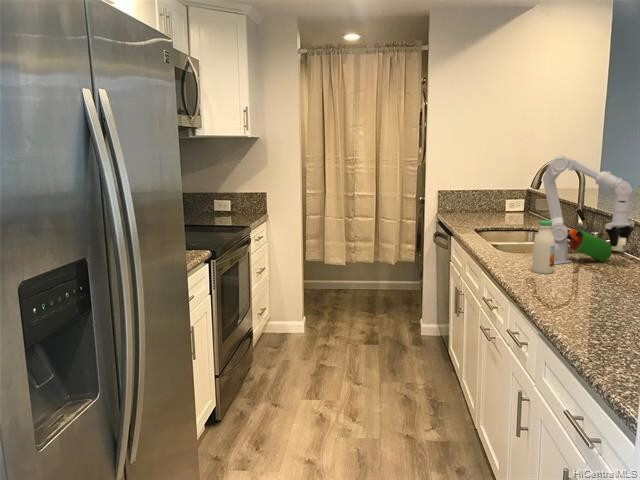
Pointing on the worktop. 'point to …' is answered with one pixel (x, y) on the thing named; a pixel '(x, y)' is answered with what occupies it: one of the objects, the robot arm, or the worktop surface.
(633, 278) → the worktop surface
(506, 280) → the worktop surface
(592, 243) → the green vase with flowers
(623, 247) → the cream capsule with tab
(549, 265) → the milk bottle
